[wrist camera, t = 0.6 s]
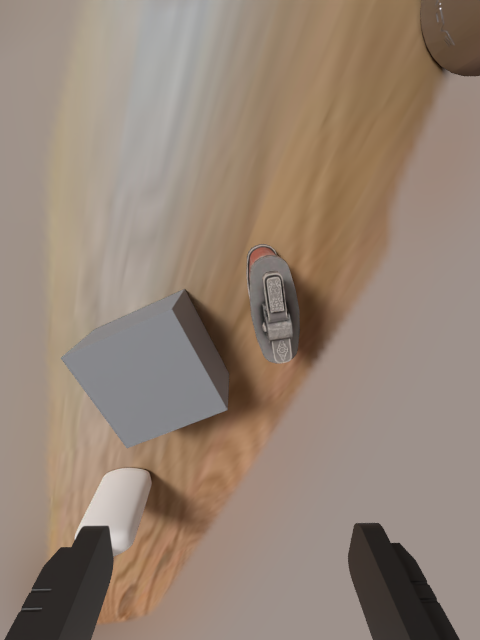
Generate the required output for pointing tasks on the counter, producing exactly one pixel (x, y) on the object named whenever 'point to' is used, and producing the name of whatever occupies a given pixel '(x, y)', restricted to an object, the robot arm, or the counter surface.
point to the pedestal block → (152, 370)
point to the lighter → (273, 304)
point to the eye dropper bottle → (119, 505)
